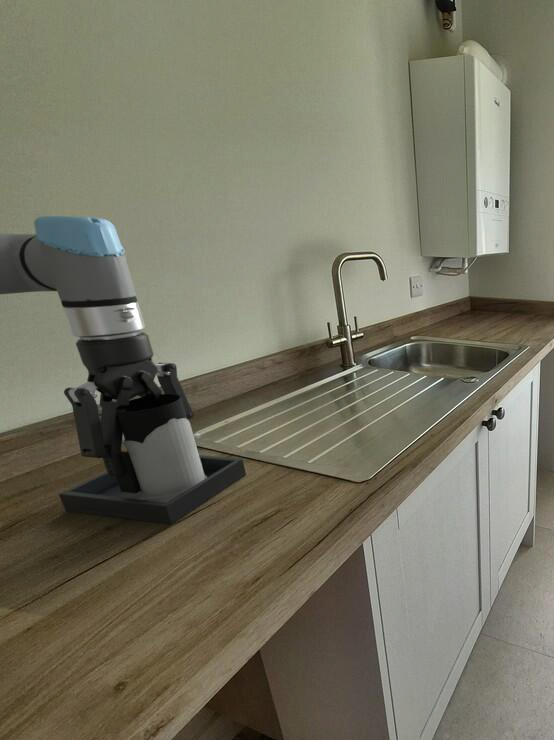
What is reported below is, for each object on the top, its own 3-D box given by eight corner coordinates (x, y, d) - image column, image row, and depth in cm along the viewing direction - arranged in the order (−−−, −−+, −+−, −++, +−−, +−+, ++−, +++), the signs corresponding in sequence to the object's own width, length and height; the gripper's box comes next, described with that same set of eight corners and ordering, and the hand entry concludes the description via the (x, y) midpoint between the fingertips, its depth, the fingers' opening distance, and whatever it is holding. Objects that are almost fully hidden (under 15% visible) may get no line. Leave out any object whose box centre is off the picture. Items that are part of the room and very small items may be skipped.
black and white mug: (166, 510, 60) (136, 416, 55) (101, 495, 64) (67, 405, 59) (222, 480, 68) (200, 395, 63) (161, 467, 72) (136, 386, 67)
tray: (65, 511, 61) (58, 493, 60) (155, 465, 73) (150, 450, 72) (171, 524, 58) (165, 506, 57) (246, 474, 70) (242, 458, 69)
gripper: (43, 353, 47) (107, 519, 55) (198, 322, 66) (230, 449, 74) (-7, 351, 49) (62, 513, 56) (159, 321, 68) (194, 446, 75)
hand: (157, 476), depth 65 cm, fingers closed on black and white mug, 7 cm apart
